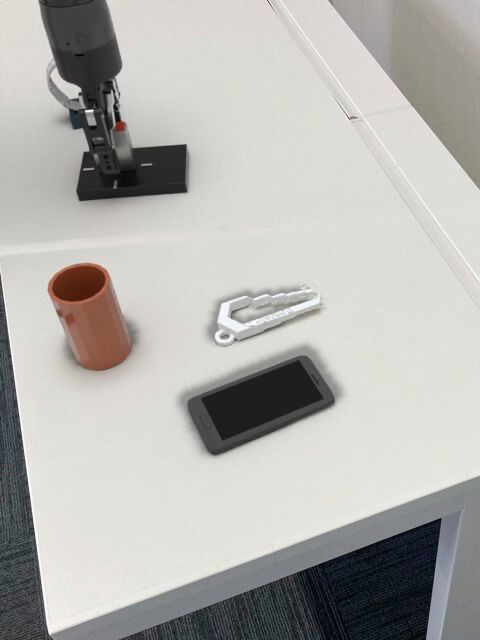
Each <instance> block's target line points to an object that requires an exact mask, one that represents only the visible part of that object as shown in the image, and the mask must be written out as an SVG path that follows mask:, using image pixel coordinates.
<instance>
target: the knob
mask: <svg viewBox="0 0 480 640" xmlns="http://www.w3.org/2000/svg"><path fill="white" fill-rule="evenodd" d="M113 138H114V142H115V149H116V152H117V156H118V160H119V163H120V167H121V169H120V171H132V170H136V158H135V154H134V150H133V148H134V147H133V142H132V140H131V139H132V138H131V135H130V129H129V126H128V123H127V122H126V121H125V120H124V121H123V120H122V122H117V123H116V127H115V129H113ZM97 139H98V140H104V139H103V138H101V137H100V138H97ZM93 155H94V158H95V162H96V165H97V168H98V172H99V173H103V171H102V168H101V165H100V161H99V158H98V155H97V154H93Z"/></svg>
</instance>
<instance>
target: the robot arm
mask: <svg viewBox="0 0 480 640" xmlns="http://www.w3.org/2000/svg"><path fill="white" fill-rule="evenodd" d="M37 1H38V6H39V11H40V17H41V21H42V25H43V29H44V31H45V34H46V37H47V41H48V45H49V47H50V50H51V54H52V57H53V58H54V60H55V63H56V69H57V73H58V75H59V77H60V79H61V80H63V81H64V82H66V83H68V84H70V85H74V86H75V87H78V88H79V89H80V91H78V93H77V95H78V98H79V103H80V105H81V106H82V108H83V109H79V112H78V115H79V117H80V120H81V123H82V126H83V128H82V129H83V133H84V137H85V139H86V142H87V146H88V151H90V153H91V155H92V154H97V155H98V158H99V161H100V165H101V168H102V171H103V173H104V174H107V175H108V174H118V173H120V169H121V167H120V163H119V160H118V156H117V152H116V149H115V142H114V138H113V129H115V127H116V123H117V122H122V121H123V119H122V115H121V112H120V111H121V103H120V99H121V92H120V89H119V85H118V82H117V78H116V77H117V76H118V75H119V74H120V73H121V71H122V69H123V60H122V55H121V51H120V47H119V43H118V39H117V35H116V30H115V26H114V21H113V17H112V13H111V10H110V7H109V5H108V1H107V0H37ZM100 137H101V138H103V139H104V140H98V139H97V138H100Z"/></svg>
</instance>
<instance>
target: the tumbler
mask: <svg viewBox="0 0 480 640" xmlns="http://www.w3.org/2000/svg"><path fill="white" fill-rule="evenodd" d="M46 291H47V293H48V296H49V298H50V301H51V303H52V305H53V308H54V310H55V312H56V313H55V314H56V316H57V317H58V320H59V322H60V325H61V328H62V329H63V331H64V334H65V337H66V339H67V341H68V344H69V346H70V348H71V351H72V354H73V356H74V358H75V360H76V362H77V363H78V365H80V366H81V367H83V368H85V369H87V370H91V371H103V370H108V369H111V368H114V367H115V366H118V365H119V364H121V363H122V362H123V361H125V360H126V358H127V357H128V356H129V355H130V352H131V350H132V341H131V336H130V334H129V329H128V327H127V324H126V320H125V318H124V315H123V312H122V308H121V306H120V302H119V299H118V296H117V292H116V290H115V287H114V284H113V281H112V278H111V275H110V274H109V272H108V269H107V268H105V267H103V266H101V265H100V264H97V263H91V262H80V263H74V264H71V265H68V266H65V267H64V268H61V269H60V270H59V271H57V272H56V273H55V274H54V275H52V277H51V278H50V280H49V281H48V285H47V290H46Z"/></svg>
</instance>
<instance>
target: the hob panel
mask: <svg viewBox="0 0 480 640" xmlns="http://www.w3.org/2000/svg"><path fill="white" fill-rule="evenodd" d="M133 150H134V154H135V158H136V170H132V171H120V173H118V174H108V175H107V174H104V173H99V172H98V168H97V165H96V162H95V158H94V155H93V154H92V155H91V153H90V151H89V150H88V151H83V152H82V158H81V164H80V167H79V169H80V170H79V174H78V180H77V185H76V190H75V192H76V195H77V198H78V201H79V202H88V201H98V200H112V199H113V200H114V199H122V198H123V199H124V198H125V199H126V198H137V197H148V196H149V197H150V196H163V195H175V194H188V192H189V191H188V190H189V189H188V188H189V187H188V185H189V158H190V157H189V156H190V155H189V149H188V144H187V143H180V144H168V145H154V146H141V147H133Z"/></svg>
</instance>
